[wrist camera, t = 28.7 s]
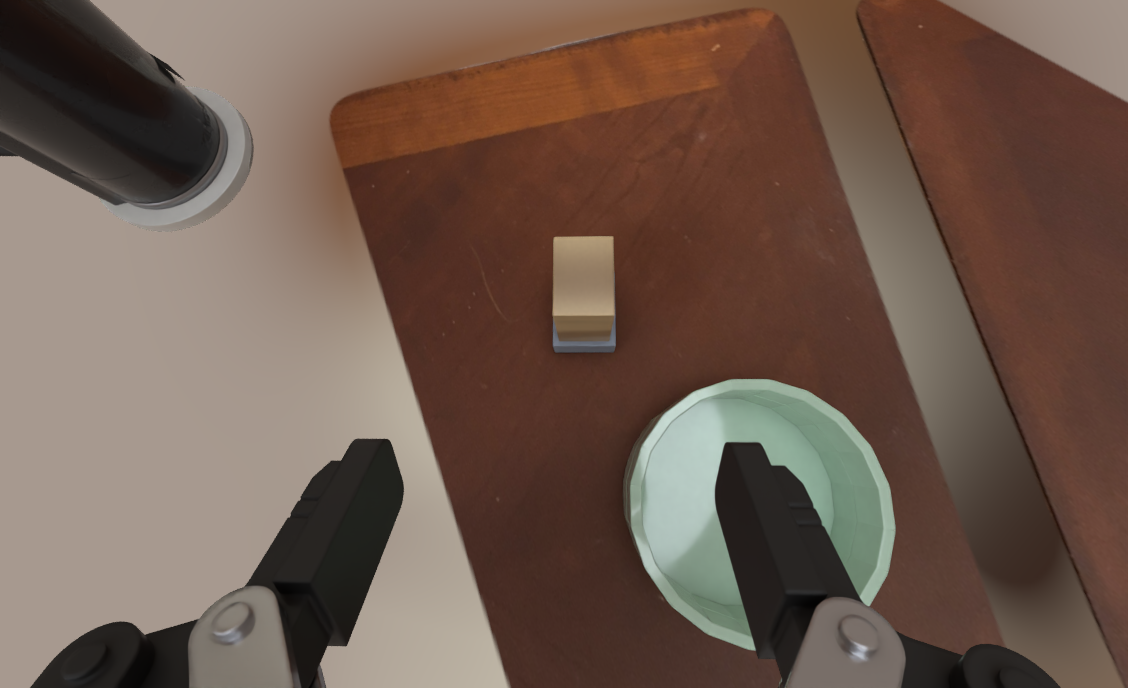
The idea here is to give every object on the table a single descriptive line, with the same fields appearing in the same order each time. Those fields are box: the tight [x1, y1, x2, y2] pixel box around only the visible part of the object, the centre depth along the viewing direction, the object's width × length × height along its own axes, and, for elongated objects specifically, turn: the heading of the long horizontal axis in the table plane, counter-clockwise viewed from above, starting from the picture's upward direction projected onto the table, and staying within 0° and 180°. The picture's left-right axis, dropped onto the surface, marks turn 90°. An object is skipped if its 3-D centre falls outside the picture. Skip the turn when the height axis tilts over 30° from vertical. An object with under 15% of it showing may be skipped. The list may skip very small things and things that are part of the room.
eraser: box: [552, 236, 616, 352], centre depth 29 cm, size 5×4×8 cm
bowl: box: [623, 379, 896, 650], centre depth 27 cm, size 13×13×6 cm
